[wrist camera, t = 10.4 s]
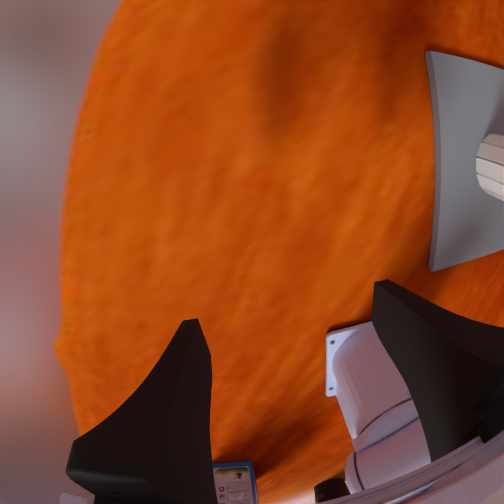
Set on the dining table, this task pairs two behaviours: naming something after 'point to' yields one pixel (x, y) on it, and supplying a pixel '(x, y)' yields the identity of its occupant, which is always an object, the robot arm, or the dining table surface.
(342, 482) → the coffee mug
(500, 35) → the dining table surface
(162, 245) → the dining table surface
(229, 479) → the milk carton
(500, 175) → the paper roll
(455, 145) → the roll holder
